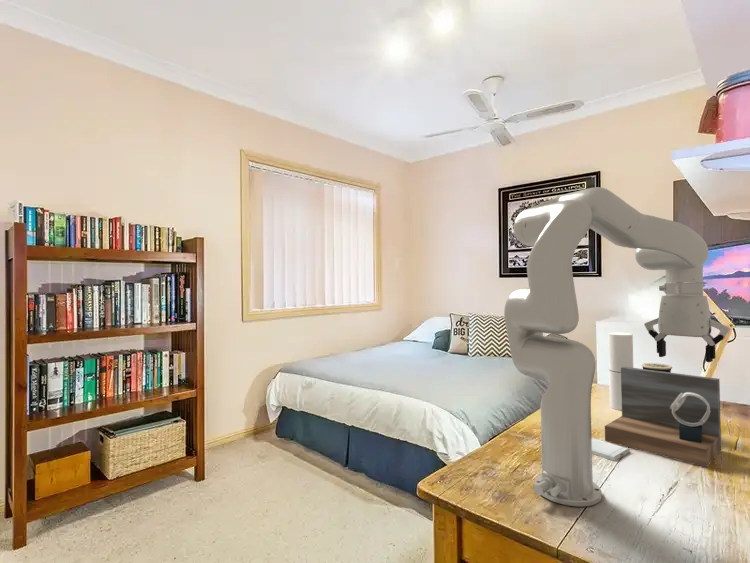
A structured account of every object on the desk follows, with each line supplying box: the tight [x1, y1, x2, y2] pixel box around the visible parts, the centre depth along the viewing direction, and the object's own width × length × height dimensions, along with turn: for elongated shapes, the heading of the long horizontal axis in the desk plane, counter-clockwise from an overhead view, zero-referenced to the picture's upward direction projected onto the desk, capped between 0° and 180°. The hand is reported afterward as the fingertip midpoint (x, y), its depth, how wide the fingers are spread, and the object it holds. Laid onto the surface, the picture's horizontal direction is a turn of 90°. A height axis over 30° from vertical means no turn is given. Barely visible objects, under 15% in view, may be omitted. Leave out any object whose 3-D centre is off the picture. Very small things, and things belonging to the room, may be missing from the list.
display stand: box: [604, 367, 722, 468], centre depth 109 cm, size 14×22×18 cm, turn 40°
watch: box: [670, 392, 711, 443], centre depth 103 cm, size 6×8×11 cm
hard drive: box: [592, 437, 630, 461], centre depth 108 cm, size 2×8×12 cm
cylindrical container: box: [607, 331, 634, 412], centre depth 141 cm, size 7×7×25 cm
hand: (685, 358), depth 104 cm, fingers open, 9 cm apart
